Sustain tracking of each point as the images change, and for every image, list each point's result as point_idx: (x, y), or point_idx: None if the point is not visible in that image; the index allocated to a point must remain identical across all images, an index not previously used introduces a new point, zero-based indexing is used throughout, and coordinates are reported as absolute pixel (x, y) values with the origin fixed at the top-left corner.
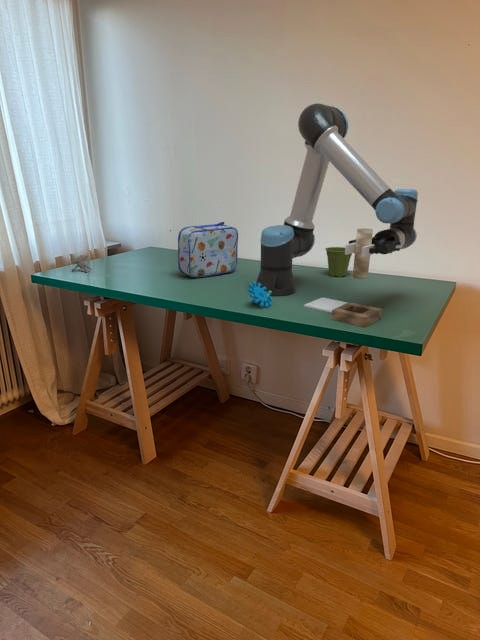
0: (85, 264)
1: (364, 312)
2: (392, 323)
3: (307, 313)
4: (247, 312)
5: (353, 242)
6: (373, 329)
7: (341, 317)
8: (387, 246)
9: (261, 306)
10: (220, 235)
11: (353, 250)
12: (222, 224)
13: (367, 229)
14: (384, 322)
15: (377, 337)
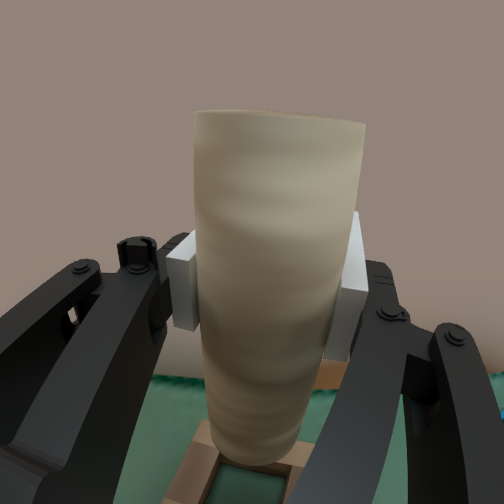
0: None
1: (213, 465)
2: (121, 488)
3: (403, 467)
4: (493, 386)
5: (399, 307)
6: (178, 427)
7: None
8: (52, 287)
9: (501, 415)
10: None
11: None
12: None
13: (255, 112)
14: (146, 492)
15: (168, 380)
